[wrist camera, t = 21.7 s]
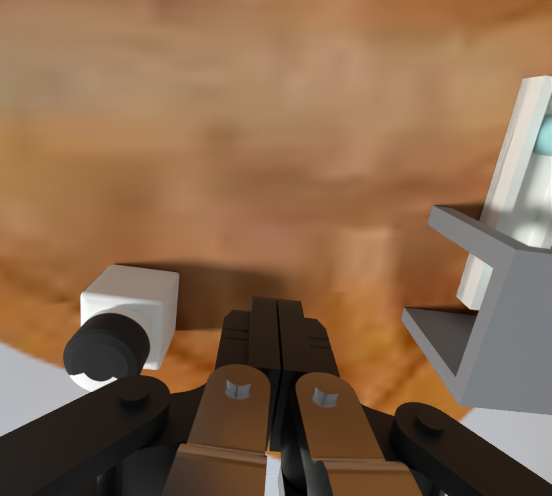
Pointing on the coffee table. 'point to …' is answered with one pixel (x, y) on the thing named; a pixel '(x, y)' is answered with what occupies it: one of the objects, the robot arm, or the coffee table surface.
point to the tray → (518, 184)
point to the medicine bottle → (122, 325)
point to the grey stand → (493, 323)
